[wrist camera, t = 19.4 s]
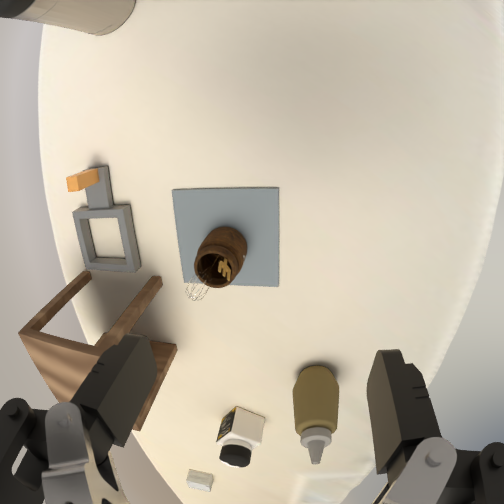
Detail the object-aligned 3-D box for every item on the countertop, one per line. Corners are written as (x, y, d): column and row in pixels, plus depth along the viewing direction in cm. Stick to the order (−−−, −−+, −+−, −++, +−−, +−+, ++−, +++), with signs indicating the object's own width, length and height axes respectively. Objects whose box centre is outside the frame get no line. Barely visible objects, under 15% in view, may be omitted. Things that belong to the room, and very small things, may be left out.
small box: (191, 475, 81) (188, 487, 77) (189, 468, 78) (185, 480, 73) (213, 480, 81) (210, 492, 76) (212, 473, 77) (209, 486, 73)
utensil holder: (197, 243, 42) (164, 288, 31) (228, 214, 39) (202, 254, 28) (226, 272, 43) (204, 325, 32) (259, 246, 41) (245, 295, 30)
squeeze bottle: (292, 389, 53) (286, 472, 36) (293, 360, 49) (288, 451, 33) (335, 389, 51) (339, 471, 35) (340, 360, 48) (348, 450, 32)
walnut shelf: (83, 271, 48) (17, 332, 31) (160, 276, 45) (101, 357, 29) (106, 338, 54) (60, 404, 38) (177, 350, 52) (140, 431, 35)
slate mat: (173, 189, 39) (171, 190, 39) (278, 187, 37) (278, 188, 37) (185, 280, 45) (184, 282, 45) (278, 285, 43) (278, 286, 43)
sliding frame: (73, 171, 40) (47, 180, 34) (124, 163, 38) (99, 172, 33) (92, 263, 46) (72, 281, 41) (141, 266, 45) (122, 286, 39)
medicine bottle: (236, 405, 57) (225, 453, 46) (265, 417, 58) (258, 464, 47) (221, 418, 60) (210, 462, 49) (249, 429, 61) (241, 473, 50)
